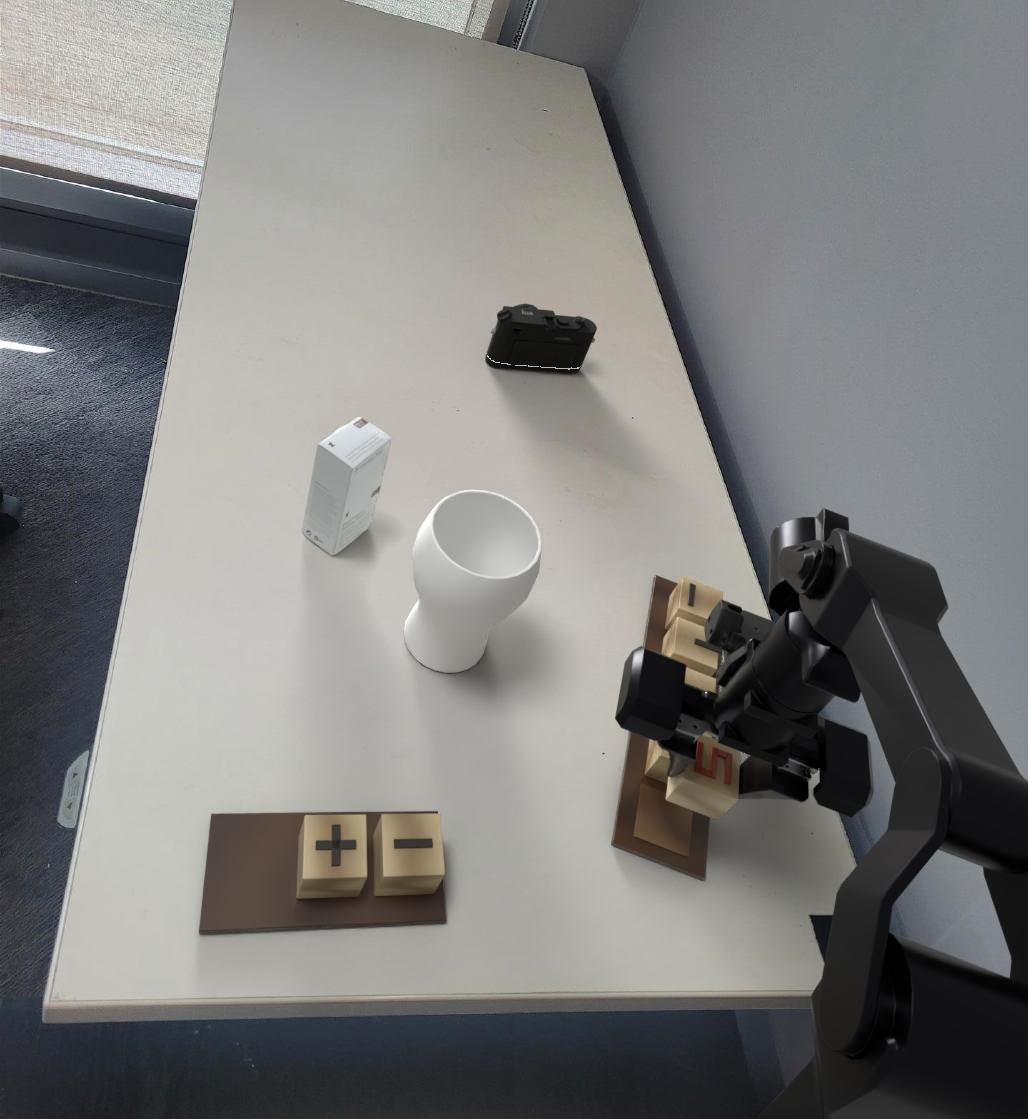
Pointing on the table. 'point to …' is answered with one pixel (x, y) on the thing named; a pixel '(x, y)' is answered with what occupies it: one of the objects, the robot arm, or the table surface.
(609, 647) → the table surface
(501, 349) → the camera
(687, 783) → the letter s tile
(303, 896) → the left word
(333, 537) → the cosmetic box
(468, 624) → the cup
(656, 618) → the letter block display
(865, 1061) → the robot arm
